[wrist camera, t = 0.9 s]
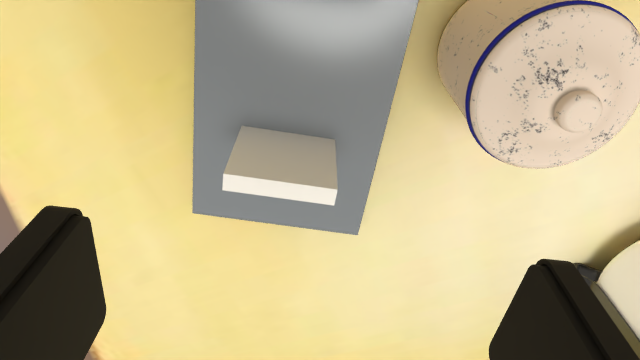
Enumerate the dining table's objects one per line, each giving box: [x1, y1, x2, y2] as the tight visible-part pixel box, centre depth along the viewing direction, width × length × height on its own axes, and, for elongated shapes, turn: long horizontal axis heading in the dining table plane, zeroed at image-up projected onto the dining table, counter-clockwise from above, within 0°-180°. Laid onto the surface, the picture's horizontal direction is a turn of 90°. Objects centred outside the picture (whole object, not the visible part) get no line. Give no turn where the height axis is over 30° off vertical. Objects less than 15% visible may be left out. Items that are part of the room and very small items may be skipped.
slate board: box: [193, 0, 419, 235], centre depth 33 cm, size 20×14×1 cm
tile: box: [222, 126, 338, 206], centre depth 30 cm, size 1×7×7 cm, turn 81°
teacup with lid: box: [437, 0, 640, 169], centre depth 26 cm, size 12×9×12 cm
